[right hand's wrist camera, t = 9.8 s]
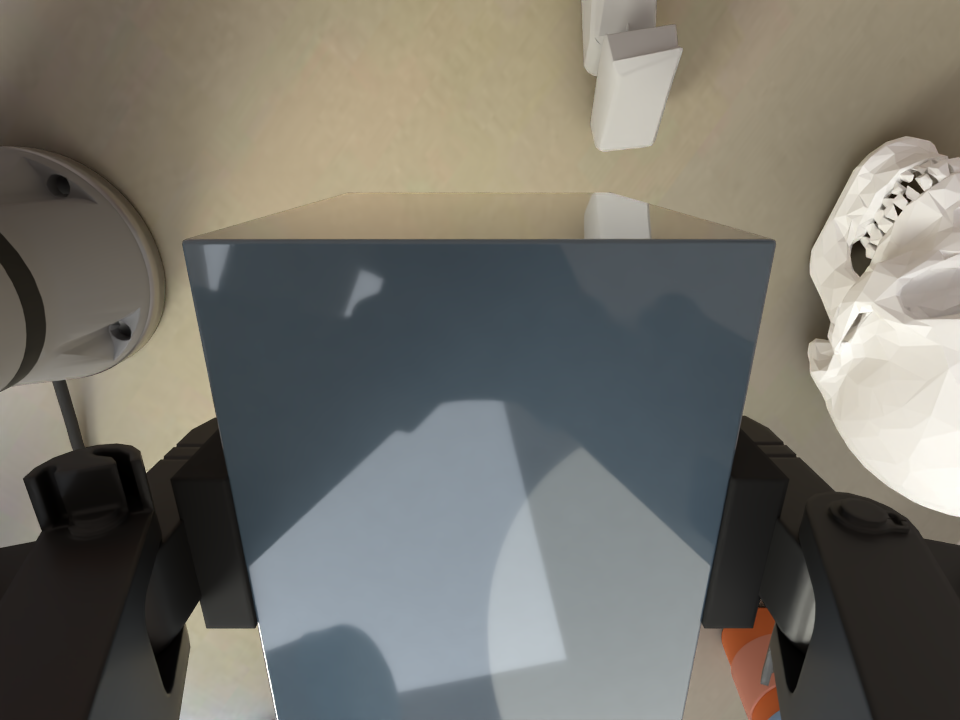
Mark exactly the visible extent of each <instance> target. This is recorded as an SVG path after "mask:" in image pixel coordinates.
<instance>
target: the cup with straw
mask: <svg viewBox="0 0 960 720" xmlns="http://www.w3.org/2000/svg"><path fill="white" fill-rule="evenodd" d="M774 624H775V620H774V619H773V617H772V615H771V614H770V612H769V611H768V609H767V608H758V610H757V614H756V618H755V622H754V627H753V628H724V629H723V631H722V644H723V647H724V649H725V652H726V655H727V658H728V660H729V663H730V665H731V673H732V677H733V680H734V682H735V685H736V688H737V690H738V693H739V696H740V698H741V701H742V704H743V706H744V709H745V712H746V714H747V717H748V720H781V715H780V708H779V702H778V696H777V689H776V683H775V676H774V673H772V675H771V678H770V682H769V686H766V685H762V684H760V682H761V674H762V669H763V666H764V662H765V658H766V654H767V650H768V646H769V643H770V639H771V635H772V631H773V627H774Z"/></svg>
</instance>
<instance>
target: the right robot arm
mask: <svg viewBox="0 0 960 720" xmlns="http://www.w3.org/2000/svg"><path fill="white" fill-rule="evenodd" d="M164 302H165V276H164V269H163V265H162V261H161V257H160V254H159V251H158V248H157V246H156V244H155V241H154V239H153V237H152V235H151V233H150V231H149V229H148V227H147V226H146V224H145V223H144V221H143V219H142V218H141V216H140V215H139V214H138V212H137V211H136V210H135V208H134V207H133V206H132V205H131V203H130V202H129V201H128V200H127V199H126V198H125V197H124V196H123V195H122V194H121V193H120V192H119V191H118V190H117V189H116V188H115V187H114V186H113V185H111V184H110V183H109V182H108V181H107V180H105V179H104V178H103V177H101V176H100V175H98V174H97V173H96V172H94V171H93V170H91V169H89V168H88V167H86V166H84V165H82V164H81V163H79V162H76V161H74V160H72V159H70V158H68V157H65V156H63V155H60V154H57V153H54V152H50V151H47V150H42V149H37V148H30V147H8V146H0V392H1V391H3V390H5V389H7V388H9V387H11V386H19V385H27V384H35V383H43V382H51V381H52V382H53V385H54V389H55V392H56V395H57V399H58V402H59V405H60V408H61V412H62V415H63V418H64V421H65V425H66V428H67V432H68V436H69V439H70V443H71V446H72V449H73V451H71V452H68V453H65V454H63V455H60V456H57V457H54V458H52V459H50V460H49V461H47V462H45V463H43V464H41V465H39V466H37V467H36V468H34V469H33V470H32V471H31V472H30V473H29V474H28V475H26V476H25V477H24V478H23V480H24V483H25V486H26V489H27V491H28V494H29V497H30V500H31V502H32V505H33V508H34V511H35V514H36V516H37V519H38V522H39V525H40V527H41V530H42V532H41V533H40V535H39V537H38V539H37V540H36V541H34V542H29V543H24V544H19V545H14V546H8V547H3V548H0V720H179V716H180V710H181V704H182V697H183V691H184V684H185V678H186V671H187V665H188V658H189V652H190V642H189V635H188V631H187V627H186V624H185V623H186V621H187V619H188V618H189V616H190V615H191V613H192V611H193V610H194V608H195V607H196V605H197V603H198V602H199V600H200V604H201V608H202V612H203V616H204V620H205V624H206V628H256V626H257V618H256V613H255V608H254V603H253V598H252V593H251V588H250V583H249V578H248V573H247V568H246V562H245V557H244V552H243V547H242V542H241V537H240V532H239V527H238V522H237V517H236V512H235V507H234V502H233V497H232V492H231V487H230V482H229V477H228V473H227V467H226V462H225V457H224V452H223V447H222V442H221V437H220V432H219V427H218V422H217V418H213V419H211V420H209V421H208V422H206V423H204V424H202V425H200V426H198V427H196V428H194V429H193V430H191V431H190V432H189V433H188V434H187V435H186V436H185V437H184V438H183V439H182V440H181V441H180V442H179V443H178V444H177V447H173V448H172V449H171V450H170V451H169V452H168V453H167V454H166V455H165V456H164V460H160V461H159V462H158V463H157V464H156V465H155V466H153V467H152V468H151V469H150V470H149V471H148V472H147V473H146V471H145V467H144V463H143V460H142V456H141V452H140V451H139V450H138V449H136V448H135V447H133V446H131V445H124V444H104V445H95V446H91V447H86V448H85V446H84V443H83V440H82V437H81V433H80V429H79V425H78V421H77V418H76V414H75V411H74V408H73V404H72V401H71V397H70V394H69V390H68V387H67V383H66V380H67V379H75V378H82V377H87V376H92V375H95V374H98V373H101V372H103V371H105V370H108V369H110V368H112V367H113V366H115V365H117V364H119V363H120V362H122V361H124V360H125V359H127V358H129V357H130V356H132V355H134V354H135V353H136V352H137V351H139V350H140V349H141V348H142V347H143V346H144V345H145V344H146V343H147V342H148V340H149V339H150V338H151V336H152V335H153V333H154V331H155V330H156V328H157V326H158V324H159V321H160V319H161V315H162V312H163V308H164ZM760 598H761V600H762V601H763V603H764V604H765V606H766V608H767V609H768V611H769V612H770V614H771V615H772V617H773V619H774V620H775V624H774V627H773V631H772V635H771V639H770V643H769V646H768V650H767V654H766V658H765V662H764V666H763V669H762V674H761V682H760V684H762V685H766V686H769V682H770V678H771V675H772V673H774V676H775V683H776V689H777V696H778V702H779V708H780V715H781V720H960V545H955V544H950V543H945V542H939V541H934V540H929V539H924V538H923V537H922V536H921V534H920V532H919V531H918V530H917V528H916V527H915V526H914V525H913V524H912V523H911V522H910V521H909V520H908V519H907V518H906V517H904V516H903V515H901V514H900V513H898V512H897V511H895V510H893V509H892V508H890V507H888V506H886V505H884V504H881V503H879V502H877V501H874V500H872V499H870V498H866V497H862V496H858V495H854V494H850V493H843V492H835V491H834V490H833V489H832V488H831V487H830V486H829V485H828V484H827V483H826V482H825V481H824V480H823V479H822V478H820V477H819V476H818V475H817V474H816V473H815V472H814V471H813V470H812V469H811V468H810V467H809V466H808V465H807V464H806V463H805V462H804V461H803V460H801V459H800V458H796V454H795V453H794V452H793V451H792V450H791V449H790V448H789V447H788V446H787V445H783V441H781V440H780V439H779V438H778V437H777V436H776V435H775V434H774V433H773V432H772V431H771V430H770V429H769V428H767V427H765V426H764V425H762V424H760V423H758V422H756V421H754V420H752V419H750V418H748V417H747V416H742V419H741V425H740V430H739V435H738V440H737V445H736V450H735V455H734V460H733V465H732V470H731V475H730V480H729V485H728V491H727V496H726V501H725V506H724V511H723V516H722V521H721V526H720V531H719V536H718V541H717V546H716V551H715V557H714V562H713V567H712V572H711V577H710V582H709V587H708V592H707V597H706V602H705V607H704V612H703V617H702V624H703V626H704V628H753V627H754V622H755V618H756V614H757V610H758V606H759V602H760Z"/></svg>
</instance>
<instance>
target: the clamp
mask: <svg viewBox="0 0 960 720" xmlns="http://www.w3.org/2000/svg"><path fill="white" fill-rule="evenodd" d="M581 4H582V30H583V56H584V67H585V69H586V70H587V72H588V73H590V74H591V75H593V76H597V80H596V87H595V94H594V101H593V108H592V114H591V121H590V126H591V130H592V135H593V139H594V143H595V147H596V148H597V149H599V150H600V151H603V152H607V151H615V150H624V149H633V148H642V147H648V146H652V144H653V143H654V142H655V139H656V136H657V133H658V129H659V126H660V123H661V119H662V116H663V112H664V109H665V106H666V102H667V99H668V96H669V92H670V89H671V86H672V83H673V80H674V76H675V73H676V70H677V67H678V64H679V61H680V58H681V54H682V51H683V49H682V47H679V46H678V40H677V30H676V25H675V24H672V25H665V26H659V27H656V9H657V0H581Z"/></svg>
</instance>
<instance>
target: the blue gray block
mask: <svg viewBox="0 0 960 720" xmlns="http://www.w3.org/2000/svg"><path fill="white" fill-rule="evenodd" d="M182 246H183V251H184V256H185V261H186V266H187V271H188V276H189V281H190V286H191V291H192V296H193V301H194V306H195V311H196V316H197V321H198V326H199V331H200V336H201V341H202V346H203V351H204V357H205V362H206V367H207V372H208V377H209V382H210V387H211V392H212V397H213V402H214V407H215V412H216V417H217V422H218V427H219V432H220V437H221V442H222V447H223V452H224V457H225V462H226V467H227V473H228V477H229V482H230V487H231V492H232V497H233V502H234V507H235V512H236V517H237V522H238V527H239V532H240V537H241V542H242V547H243V552H244V557H245V562H246V568H247V573H248V578H249V583H250V588H251V593H252V598H253V603H254V608H255V613H256V618H257V624H258V629H259V634H260V639H261V644H262V649H263V654H264V659H265V664H266V669H267V674H268V679H269V684H270V689H271V694H272V699H273V704H274V710H275V715H276V720H682V719H683V714H684V709H685V704H686V699H687V694H688V689H689V683H690V678H691V673H692V668H693V663H694V658H695V653H696V648H697V643H698V638H699V633H700V628H701V623H702V617H703V612H704V607H705V602H706V597H707V592H708V587H709V582H710V577H711V572H712V567H713V562H714V557H715V551H716V546H717V541H718V536H719V531H720V526H721V521H722V516H723V511H724V506H725V501H726V496H727V491H728V485H729V480H730V475H731V470H732V465H733V460H734V455H735V450H736V445H737V440H738V435H739V430H740V425H741V419H742V414H743V409H744V404H745V399H746V394H747V389H748V384H749V379H750V374H751V369H752V364H753V359H754V353H755V348H756V343H757V338H758V333H759V328H760V323H761V318H762V313H763V308H764V303H765V298H766V293H767V287H768V282H769V277H770V272H771V267H772V262H773V257H774V252H775V247H776V241H775V240H773V239H771V238H767V237H764V236H760V235H757V234H753V233H750V232H746V231H743V230H739V229H736V228H732V227H729V226H725V225H722V224H718V223H715V222H711V221H708V220H704V219H701V218H698V217H694V216H691V215H687V214H684V213H680V212H677V211H673V210H670V209H666V208H663V207H659V206H656V205H652V204H649V203H645V202H642V201H638V200H635V199H631V198H628V197H625V196H621V195H618V194H614V193H345V194H342V195H338V196H335V197H331V198H328V199H324V200H321V201H317V202H314V203H310V204H307V205H303V206H300V207H296V208H293V209H289V210H286V211H282V212H279V213H275V214H272V215H268V216H265V217H261V218H258V219H254V220H251V221H247V222H244V223H240V224H237V225H233V226H230V227H226V228H223V229H219V230H216V231H212V232H209V233H205V234H202V235H198V236H195V237H191V238H188V239H185V240H183V243H182Z"/></svg>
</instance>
